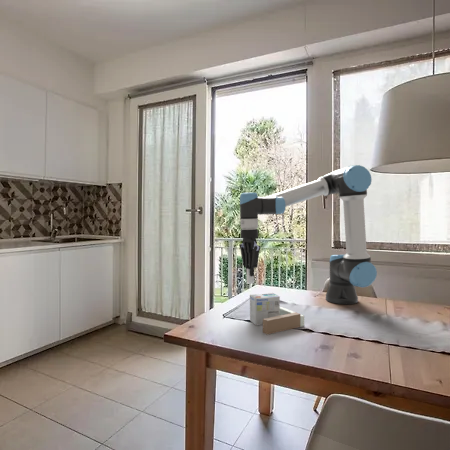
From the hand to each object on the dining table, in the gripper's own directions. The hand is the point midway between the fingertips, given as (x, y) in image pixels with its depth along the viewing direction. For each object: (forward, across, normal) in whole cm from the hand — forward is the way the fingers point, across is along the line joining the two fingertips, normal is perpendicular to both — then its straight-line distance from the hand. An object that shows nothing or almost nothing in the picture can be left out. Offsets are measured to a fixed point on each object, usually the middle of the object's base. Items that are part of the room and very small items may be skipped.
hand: (250, 283), depth 142 cm
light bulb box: (+14, +11, -1) cm, 18 cm away
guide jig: (+13, +11, -1) cm, 17 cm away
